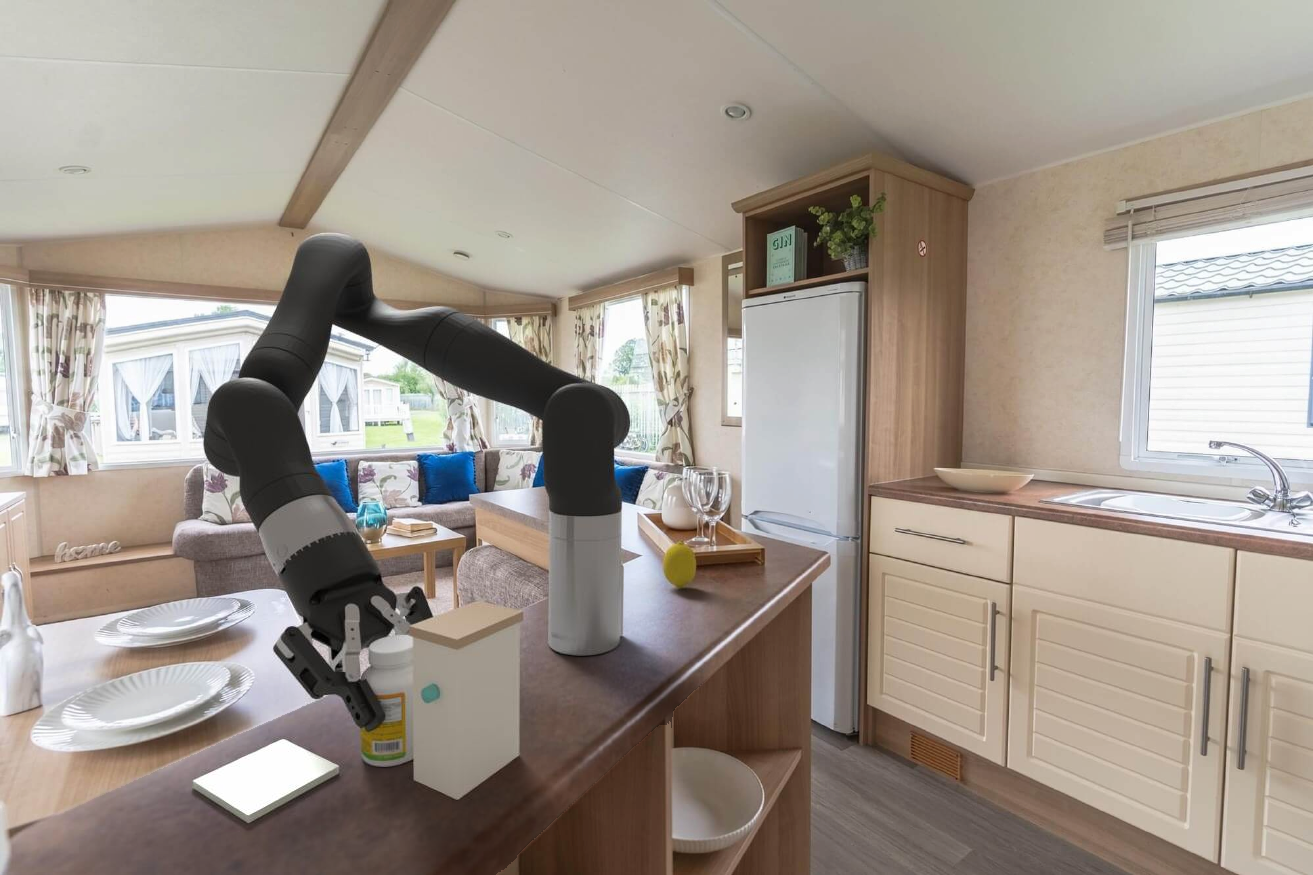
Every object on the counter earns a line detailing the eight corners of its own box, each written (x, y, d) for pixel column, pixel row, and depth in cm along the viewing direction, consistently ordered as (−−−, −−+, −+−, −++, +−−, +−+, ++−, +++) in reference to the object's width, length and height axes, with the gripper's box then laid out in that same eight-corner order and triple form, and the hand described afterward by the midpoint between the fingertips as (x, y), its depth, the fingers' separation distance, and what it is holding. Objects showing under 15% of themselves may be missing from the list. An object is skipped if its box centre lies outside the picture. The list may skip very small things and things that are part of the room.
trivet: (283, 745, 54) (283, 738, 54) (339, 773, 50) (338, 765, 50) (192, 787, 48) (192, 780, 48) (248, 823, 44) (248, 815, 44)
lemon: (696, 594, 99) (697, 545, 99) (662, 593, 100) (663, 545, 99) (694, 584, 105) (695, 538, 105) (662, 583, 105) (663, 537, 105)
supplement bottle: (408, 726, 58) (407, 626, 57) (439, 748, 54) (438, 642, 53) (349, 751, 53) (348, 643, 53) (379, 777, 50) (378, 661, 49)
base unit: (478, 737, 56) (478, 600, 55) (523, 754, 53) (524, 611, 53) (403, 784, 49) (402, 628, 48) (451, 806, 46) (451, 642, 46)
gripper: (370, 561, 65) (451, 697, 60) (221, 599, 53) (308, 774, 48) (402, 517, 62) (490, 656, 57) (254, 546, 50) (350, 726, 45)
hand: (407, 708), depth 53 cm, fingers closed on supplement bottle, 5 cm apart
